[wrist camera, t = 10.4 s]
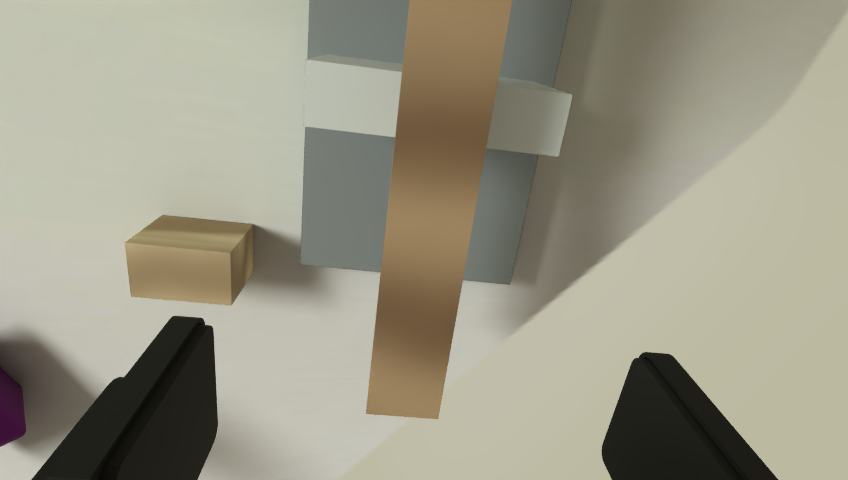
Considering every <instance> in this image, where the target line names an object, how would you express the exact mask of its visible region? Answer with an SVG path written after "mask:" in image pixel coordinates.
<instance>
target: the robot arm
mask: <svg viewBox="0 0 848 480" xmlns="http://www.w3.org/2000/svg"><path fill="white" fill-rule="evenodd" d="M217 427H218V418H217V397H216V376H215V355H214V334H213V328H212V326H209V325H205V322H204V320H203V319H202V318H196V317H183V316H173V317H172V318H171V319H170V320H169V321H168V322H167V323H166V325H165V326H164V327H163V329H162V330H161V331H160V332H159V334H158V335H157V336H156V338H155V339H154V340H153V341H152V343H151V344H150V345H149V346H148V348H147V349H146V350H145V352H144V353H143V354H142V355H141V357H140V358H139V359H138V361H137V362H136V363H135V364H134V366H133V367H132V368H131V370H130V371H129V372H128V373H127V375H126V376H125V377H118V378H116V379H114V380H113V381H112V382H111V383H110V384H109V385H108V386H107V387H106V388H105V390H104V391H103V392H102V393H101V395H100V396H99V397H98V398H97V399H96V401H95V402H94V403H93V404H92V406H91V407H90V408H89V409H88V411H87V412H86V413H85V414H84V416H83V417H82V418H81V419H80V420H79V422H78V423H77V424H76V425H75V427H74V428H73V429H72V430H71V432H70V433H69V434H68V435H67V436H66V438H65V439H64V440H63V441H62V443H61V444H60V445H59V446H58V448H57V449H56V450H55V451H54V453H53V454H52V455H51V456H50V457H49V459H48V460H47V461H46V462H45V464H44V465H43V466H42V467H41V469H40V470H39V471H38V472H37V474H36V475H35V476H34V477H33V478H32V480H197V479H198V477H199V475H200V472H201V470H202V468H203V466H204V463H205V461H206V459H207V457H208V454H209V452H210V450H211V448H212V445H213V443H214V440H215V437H216V433H217ZM602 458H603V461H604V464H605V466H606V468H607V470H608V472H609V474H610V476H611V478H612V480H778V479H777V478H776V477H775V475H774V474H773V473H772V472H771V471H770V470H769V468H768V467H767V466H766V465H765V464H764V462H763V461H762V460H761V459H760V458H759V457H758V455H757V454H756V453H755V452H754V451H753V450H752V448H751V447H750V446H749V445H748V444H747V443H746V441H745V440H744V439H743V438H742V437H741V435H740V434H739V433H738V432H737V431H736V430H735V428H734V427H733V426H732V425H731V424H730V423H729V421H728V420H727V419H726V418H725V417H724V416H723V414H722V413H721V412H720V411H719V410H718V408H717V407H716V406H715V405H714V404H713V403H712V402H711V400H710V399H709V398H708V397H707V396H706V394H705V393H704V392H703V391H702V390H701V389H700V387H699V386H698V385H697V384H696V383H695V381H694V380H693V379H692V378H691V377H690V376H689V374H688V373H687V372H686V371H685V370H684V369H683V367H682V366H681V365H680V364H679V363H678V362H677V360H676V359H675V358H674V357H673V356H672V355H670V354H663V353H650V352H649V353H648V352H645V353H642V354H641V355H640V356H639V358H635V359H634V360H633V361H632V364H631V366H630V369H629V372H628V375H627V377H626V380H625V383H624V386H623V389H622V392H621V394H620V397H619V400H618V403H617V406H616V408H615V411H614V414H613V417H612V419H611V422H610V425H609V428H608V431H607V433H606V436H605V439H604V442H603V445H602Z"/></svg>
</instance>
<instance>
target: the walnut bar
mask: <svg viewBox="0 0 848 480" xmlns="http://www.w3.org/2000/svg"><path fill="white" fill-rule="evenodd" d="M511 6H512V0H410V1H409V11H408V20H407V30H406V39H405V49H404V58H403V67H402V77H401V86H400V96H399V105H398V115H397V124H396V134H395V143H394V152H393V162H392V171H391V181H390V190H389V200H388V209H387V219H386V228H385V237H384V247H383V256H382V266H381V275H380V285H379V294H378V304H377V313H376V322H375V332H374V341H373V351H372V360H371V370H370V380H369V390H368V400H367V410H366V414H376V415H390V416H404V417H417V418H418V417H419V418H433V419H438V416H439V411H440V405H441V399H442V394H443V388H444V383H445V377H446V371H447V366H448V360H449V355H450V349H451V343H452V338H453V332H454V326H455V321H456V315H457V309H458V304H459V298H460V293H461V287H462V281H463V276H464V270H465V264H466V259H467V253H468V248H469V242H470V236H471V231H472V225H473V219H474V214H475V208H476V203H477V197H478V191H479V186H480V180H481V174H482V169H483V163H484V158H485V152H486V146H487V141H488V135H489V129H490V124H491V118H492V112H493V107H494V101H495V96H496V90H497V84H498V79H499V73H500V67H501V62H502V56H503V51H504V45H505V39H506V34H507V28H508V22H509V17H510V11H511Z"/></svg>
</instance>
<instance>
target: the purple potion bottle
mask: <svg viewBox="0 0 848 480" xmlns="http://www.w3.org/2000/svg"><path fill="white" fill-rule="evenodd" d="M25 432H26V424H25V415H24V405H23V396H22V388H21V386H19V385H18V384H17V383H16V382H15V381H14V380H13V379H12V378H11V377H10V376H9V375H8V374H7V373H6V372H5V371H4V370H3V369H2V368H1V367H0V447H1V446H3V445H5V444H7V443H9V442H11V441H13V440H16V439H18V438H20V437H22V436H23V435H24V434H25Z"/></svg>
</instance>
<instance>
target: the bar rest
mask: <svg viewBox="0 0 848 480" xmlns="http://www.w3.org/2000/svg"><path fill="white" fill-rule="evenodd" d="M125 248H126V257H127V266H128V275H129V283H130V292H131V297H141V298H152V299H163V300H175V301H186V302H197V303H209V304H220V305H231V306H232V304H233V302H234V301H235V299H236V298H237V296H238V295H239V293H240V292H241V290H242V288H243V287H244V285H245V284H246V282H247V281H248V279H249V278H250V276H251V274H252V273H253V224H244V223H234V222H225V221H215V220H205V219H195V218H186V217H176V216H166V215H162V216H161V217H159V218H158V219H156V220H155V221H154V222H152V223H151V224H150V225H148V226H147V227H146V228H144V229H143V230H141V231H140V232H139V233H137V234H136V235H135V236H133V237H132V238H131V239H129V240H128V241H127V242H125Z"/></svg>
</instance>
